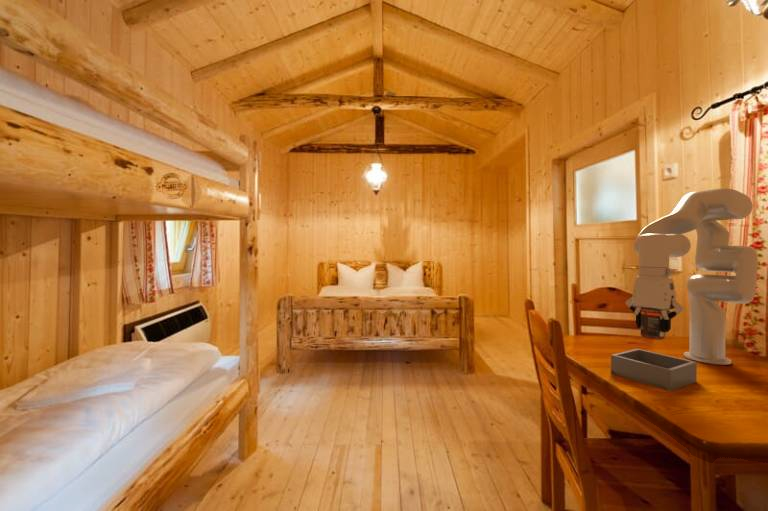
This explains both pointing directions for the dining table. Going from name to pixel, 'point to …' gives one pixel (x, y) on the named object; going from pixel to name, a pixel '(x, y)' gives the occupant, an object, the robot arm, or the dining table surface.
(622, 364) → the bin
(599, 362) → the dining table surface
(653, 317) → the supplement bottle
